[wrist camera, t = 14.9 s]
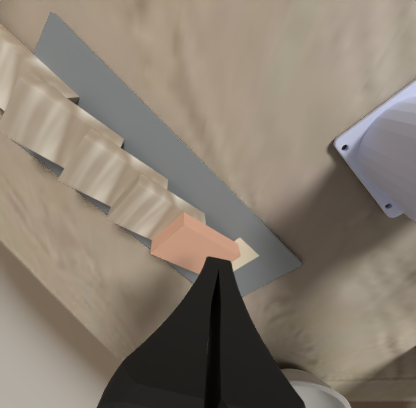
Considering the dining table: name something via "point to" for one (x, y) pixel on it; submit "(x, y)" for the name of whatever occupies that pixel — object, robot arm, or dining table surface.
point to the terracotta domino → (192, 244)
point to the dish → (314, 390)
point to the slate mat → (162, 158)
